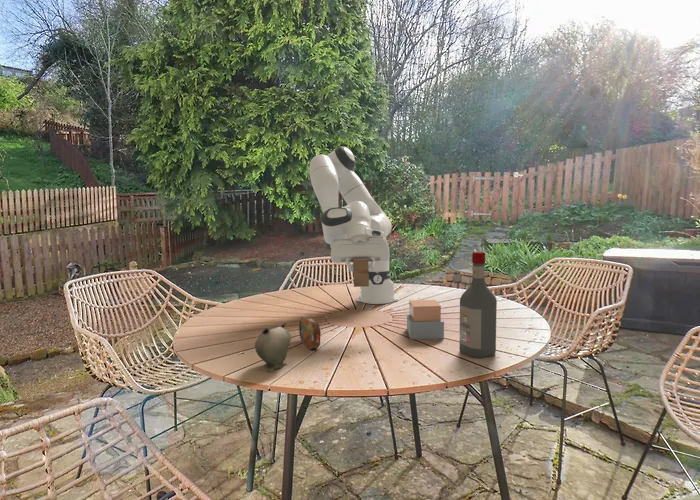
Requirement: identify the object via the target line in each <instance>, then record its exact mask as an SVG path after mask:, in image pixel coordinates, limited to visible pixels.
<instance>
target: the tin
mask: <svg viewBox="0 0 700 500" xmlns="http://www.w3.org/2000/svg"><path fill="white" fill-rule="evenodd" d="M298 325H299V326H298V328H299V329H298V330H299V331H298V332H299V339H300V341H301V343H302V344H303V345H304V346H305V347H306V348H307V349H308V350H314V349H318V348H319V347H320V345H321V333H322V331H321V327H320V325H319V323H318V322H316V321H315V320H314V319H313V318H311V317H310V316H309V317H308V316H307V317H300V320H299V324H298Z"/></svg>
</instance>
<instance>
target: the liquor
mask: <svg viewBox="0 0 700 500" xmlns="http://www.w3.org/2000/svg"><path fill="white" fill-rule="evenodd" d="M471 253H472V255H471V261H472V262H471V263H472V274H471V275H472V279H471V282H470V283H471V284H470V286H469V287H468V288H467V289H466V290H465V291H464V292H463V293H462V294H461V296H460V298H459V351H460V352H461V353H462V354H464V355H466V356H468V357H470V358H474V359H475V358H476V359H484V358H488V357H494V355H495V354H496V350H497V304H498V301H497V300H498V299H497V297H496V295H495V294H494V293H493V292H492V290H491V289H490V288H489V287H488V286H487V283H486V281H485V280H486V277H485V276H486V275H485V271H486V270H485V269H486V268H485V264H486V252H485V251H473V252H471Z"/></svg>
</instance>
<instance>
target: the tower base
mask: <svg viewBox="0 0 700 500" xmlns="http://www.w3.org/2000/svg"><path fill="white" fill-rule="evenodd" d="M406 332H407V334H408V337H409V339H410V340H444V339H445V322H444V320H443V318H442V317H441V321H413V320H412V318H411V316H410V315H409V313H406Z"/></svg>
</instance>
